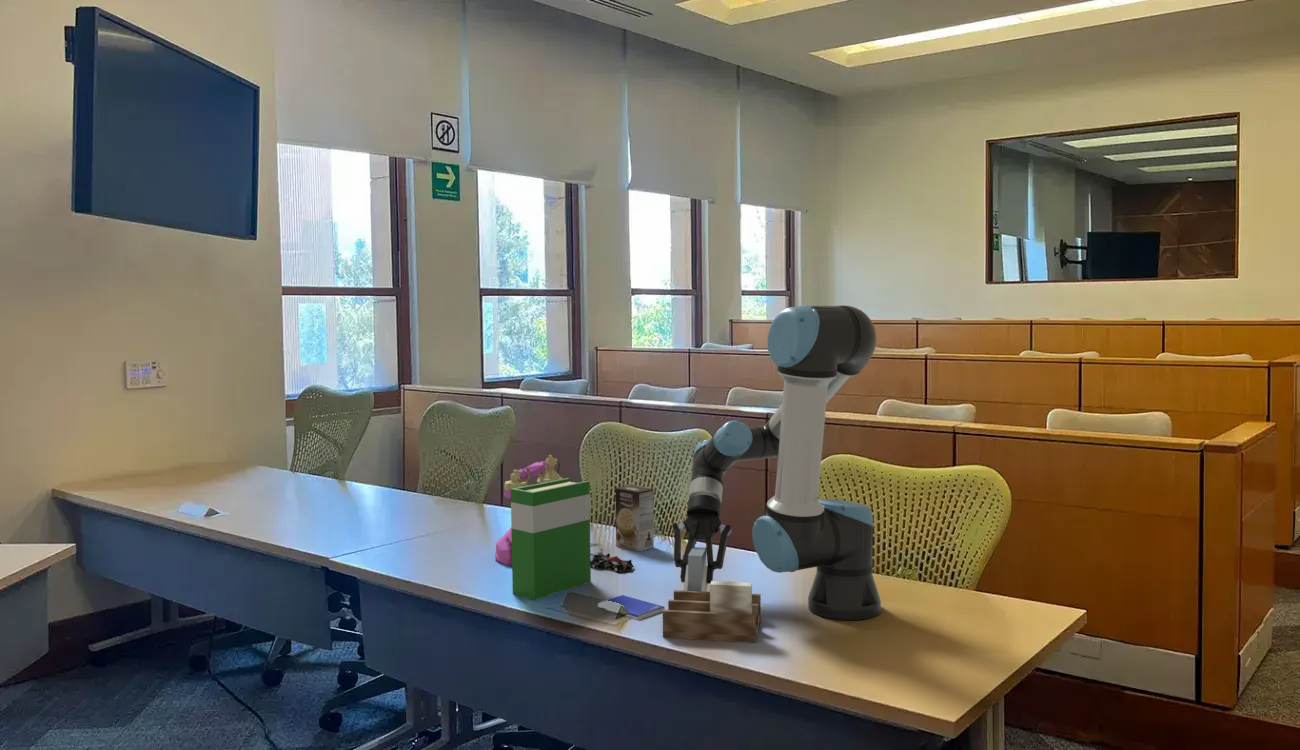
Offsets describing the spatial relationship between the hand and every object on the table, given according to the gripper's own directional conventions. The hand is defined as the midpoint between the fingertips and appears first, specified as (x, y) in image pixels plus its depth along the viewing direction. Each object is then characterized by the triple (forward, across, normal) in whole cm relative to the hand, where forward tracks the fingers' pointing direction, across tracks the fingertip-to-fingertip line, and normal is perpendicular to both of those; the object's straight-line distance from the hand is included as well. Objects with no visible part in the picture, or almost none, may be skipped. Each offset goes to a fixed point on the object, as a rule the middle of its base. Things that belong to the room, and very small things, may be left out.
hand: (694, 595), depth 199 cm
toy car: (-19, +25, -25) cm, 40 cm away
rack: (+9, -5, +4) cm, 11 cm away
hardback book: (-6, +35, -12) cm, 37 cm away
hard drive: (+3, +14, -3) cm, 15 cm away
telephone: (-28, +48, -34) cm, 65 cm away
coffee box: (-34, +24, -40) cm, 58 cm away
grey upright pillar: (0, 0, -6) cm, 6 cm away
